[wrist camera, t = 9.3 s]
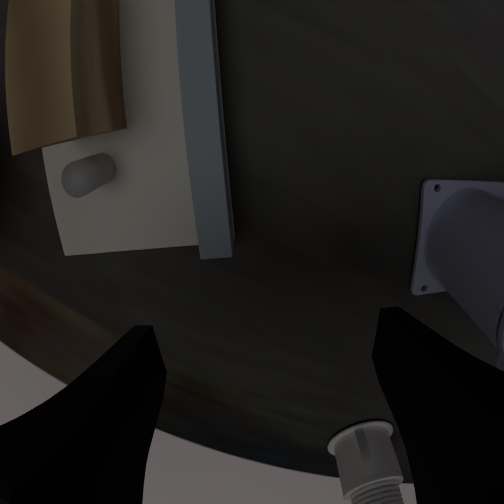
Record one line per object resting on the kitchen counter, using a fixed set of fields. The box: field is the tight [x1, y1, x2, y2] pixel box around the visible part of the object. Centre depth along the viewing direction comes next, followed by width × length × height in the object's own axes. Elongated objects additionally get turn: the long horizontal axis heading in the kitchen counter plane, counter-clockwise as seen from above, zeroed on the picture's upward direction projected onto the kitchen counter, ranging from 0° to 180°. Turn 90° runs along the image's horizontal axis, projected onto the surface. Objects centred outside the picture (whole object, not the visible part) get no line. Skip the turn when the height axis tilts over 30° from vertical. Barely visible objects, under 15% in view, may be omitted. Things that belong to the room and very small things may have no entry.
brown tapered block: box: [5, 0, 127, 156], centre depth 11 cm, size 4×8×6 cm, turn 4°
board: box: [42, 0, 235, 259], centre depth 14 cm, size 11×18×4 cm, turn 4°
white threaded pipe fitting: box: [328, 421, 404, 504], centre depth 23 cm, size 8×7×10 cm
